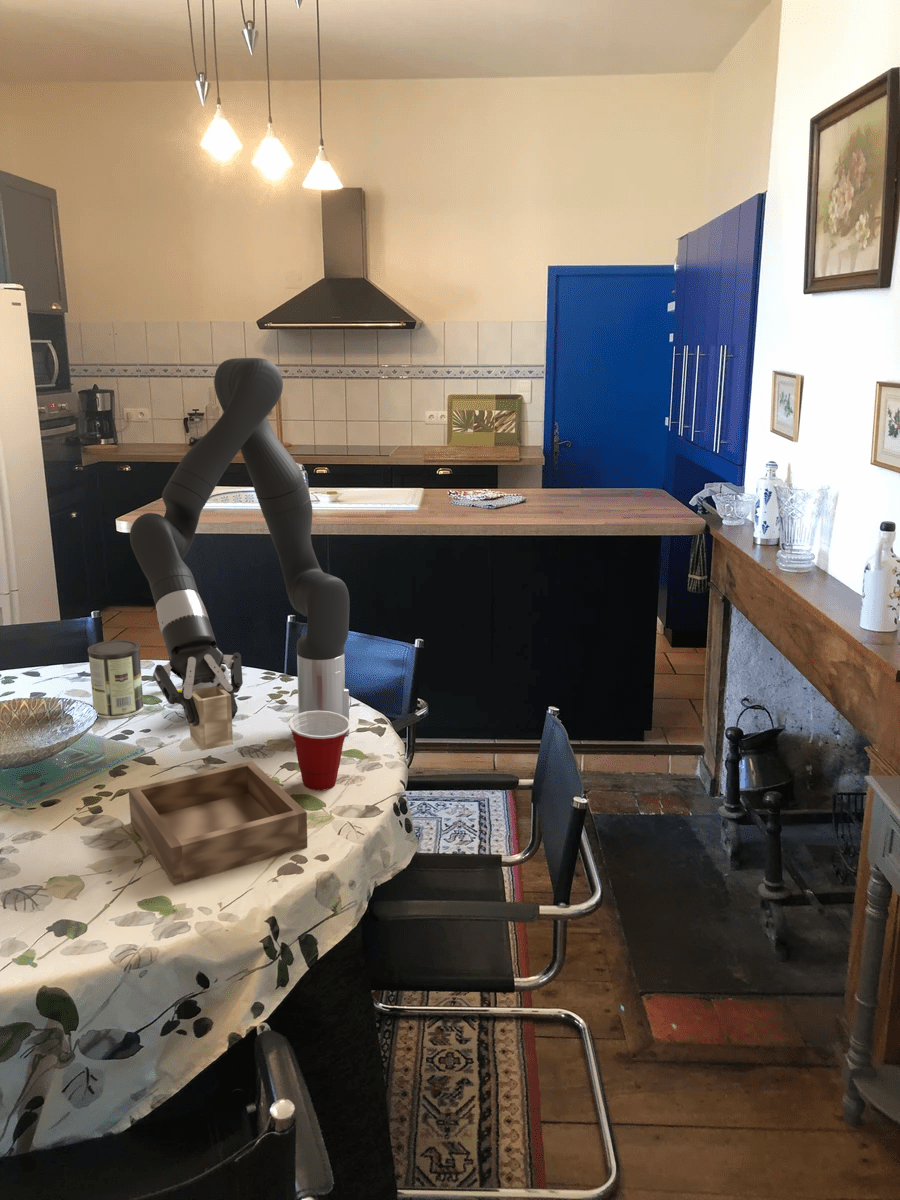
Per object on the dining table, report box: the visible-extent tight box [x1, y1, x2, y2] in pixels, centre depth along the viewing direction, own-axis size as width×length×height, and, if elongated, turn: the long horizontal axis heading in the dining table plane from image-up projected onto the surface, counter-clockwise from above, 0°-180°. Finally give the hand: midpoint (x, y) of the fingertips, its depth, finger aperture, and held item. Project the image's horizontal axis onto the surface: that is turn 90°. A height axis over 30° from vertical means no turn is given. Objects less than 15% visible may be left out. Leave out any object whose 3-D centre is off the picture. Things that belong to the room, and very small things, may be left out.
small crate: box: [189, 686, 234, 751], centre depth 147 cm, size 5×5×8 cm
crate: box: [127, 760, 308, 886], centre depth 151 cm, size 21×22×6 cm
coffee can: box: [87, 639, 145, 720], centre depth 200 cm, size 10×10×14 cm
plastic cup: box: [288, 711, 352, 791], centre depth 168 cm, size 11×11×12 cm
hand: (214, 720), depth 145 cm, fingers closed on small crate, 5 cm apart
